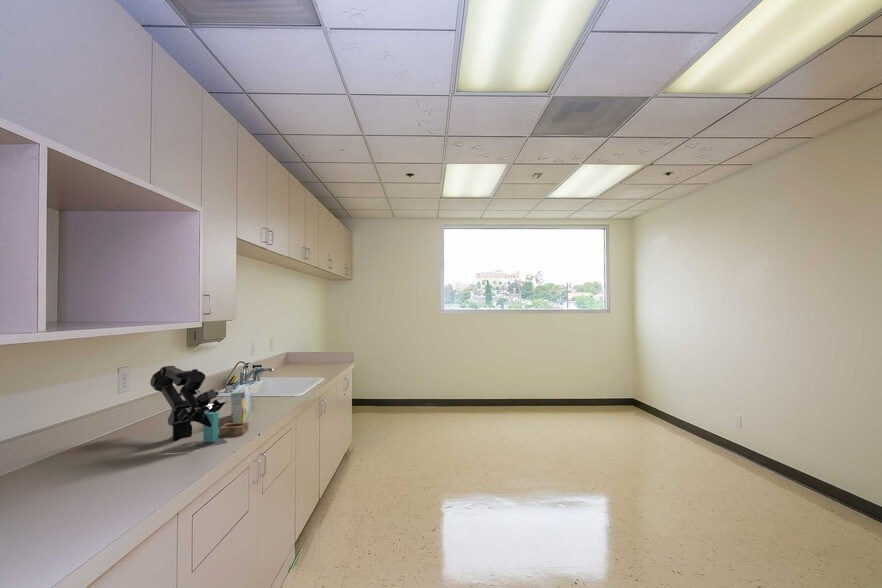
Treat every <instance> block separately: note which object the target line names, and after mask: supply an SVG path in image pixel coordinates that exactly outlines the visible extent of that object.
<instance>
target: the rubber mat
mask: <svg viewBox="0 0 882 588" xmlns="http://www.w3.org/2000/svg"><path fill="white" fill-rule="evenodd" d="M227 443H228V442H227V440H226V439H225V438H224V436H221V437H219V436H218V440H216V441H214V442H210V441H203V440H199V441H195V442H194V444H195V445H196V447H197V448H198V449H205V448H209V447H214V446H219V445H223V444H227Z"/></svg>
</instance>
